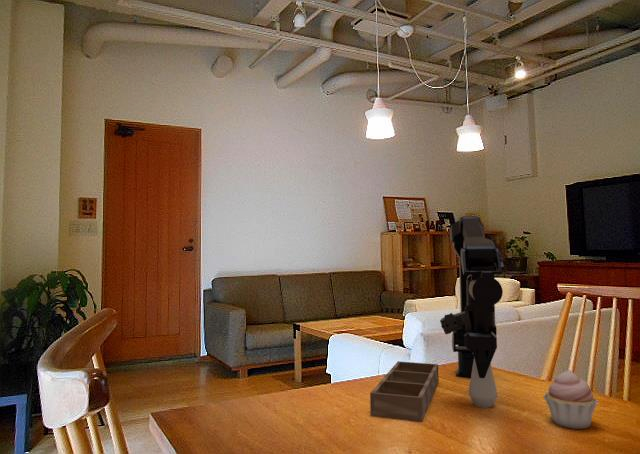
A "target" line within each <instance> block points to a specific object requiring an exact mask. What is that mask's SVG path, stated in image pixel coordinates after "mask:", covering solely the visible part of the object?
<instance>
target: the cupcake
mask: <svg viewBox="0 0 640 454" xmlns="http://www.w3.org/2000/svg"><path fill="white" fill-rule="evenodd" d="M593 397H594V393H593V391H592V388H590V385H589V384H588V383H587V382H586V381H585V380H583V379H581V378H579V377H578V376H577V375H576V373H574V372H573V371H572V370H571V369H568V370H566V371H563V372H561V373H560V374H558V375H557V376H556V377H555V379H554V381H553V382H551V384H550V385H549V386H548V392H545V393H544V395H543V398H544V400H545V402H546V404H547V406H548V408H549V411H550V412H549V413H550V415H551V420H552V421H553V422H554V424H555V425H558V426H561V427H564V428H568V429H575V430H576V429H577V430H582V429H584V430H585V429H587V428H589V427H590V426H591V425H592V419H593V415H594V414H593V413H594V410H595V409H596V407H597V405H598V402H599V400H598V399H596V398H593Z"/></svg>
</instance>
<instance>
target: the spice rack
mask: <svg viewBox="0 0 640 454" xmlns="http://www.w3.org/2000/svg"><path fill="white" fill-rule="evenodd" d="M439 381H440V380H439V364H438V363H423V362H413V361H412V362H410V361H397V362H396V363H395V364H394V365H393V366H392V367H391V368H390V370H388V372H387V373H386V374H385V376H383V378H381V380H380V381H379V382H378V384H377V385H376V386H375V387H374V388H373V389H372V391H371V392H369V393H370V394H369V395H370V397H369V398H370V401H369V404H370V408H369V409H370V417H379V418H387V419H394V420H395V419H396V420H402V421H411V422H413V421H414V422H420V423H422V422H423V420H424V418H425V416H426V414H427V411H428V408H429V406H430V404H431V401H432V399H433V397H434V394H435V392H436V390H437V388H438V385H439Z"/></svg>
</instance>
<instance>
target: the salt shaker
mask: <svg viewBox="0 0 640 454" xmlns="http://www.w3.org/2000/svg"><path fill="white" fill-rule="evenodd" d="M492 367H493V366H492V362H491V363H490V366H489V368H488V371H487V374H486V376H485V378H479V375H478V370H477V366H476V362H475V358H474V361H473V367H472V374H471V377H470V379H469V380H470V381H469V386H468V394H469V397H470V399H471V402H472V404H473V405H474V406H475V407H478V408H482V409H488V407H490V408H493V407H494V404H495V402H496V400H497V398H498V392H497V385H496V381H495V376H494V372H493V368H492Z"/></svg>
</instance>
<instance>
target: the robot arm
mask: <svg viewBox="0 0 640 454" xmlns="http://www.w3.org/2000/svg"><path fill="white" fill-rule="evenodd" d="M449 230H450V231H449V240H450V242H449V243H450V244H451V243H452V249H453V251H454V253H455V254H456V256H457V257H458V262H459V263H458V266H459V267H458V268H459V299H460V300H459V303H460V304H459V305H460V306H459V308H460V312H457V313H454V314H453V313H452V312H450V313H449V314H445V315H444V317H443V318H441V319H440V320H439V323H440V325H441V328H442V330H443V332H444V335H449V334H451V348H452V351H453V353H457V365H458V368H457V370H456V371H455V372H456V373H455V375H456V377H467V378H471V374H472V367H473V361H474V358H475V362H476V366H477V370H478V375H479V378H485V376H486V374H487V371H488V368H489V366H490V363H491V364H492V361H493V358H494V356H495V353H496V351H497V349H498V339H497V337H498V336H497V331H498V330H497V324H496V307H495V306H496V304H498V303H500V301H501V299H502V297H503V287H502V285H501V283H500V282H499V280H497V279H496V278H495V275H496V276H497V275H498V276H499V275H501V276H502V275H503V272H504V269H505V265H504V261H503V257H502V253H501V252H500V250H499V248H498V247H496V245H495V243H494V242H493V240H492V239H489V238H486V236H485V225H484V222H482V221H481V217H480V216H478V215H463V216H460V217H458V220H457V221H456V222H454V223H452V224H451V225H450V229H449Z"/></svg>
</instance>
